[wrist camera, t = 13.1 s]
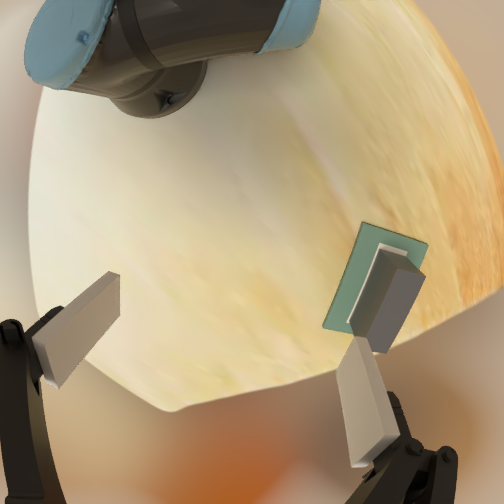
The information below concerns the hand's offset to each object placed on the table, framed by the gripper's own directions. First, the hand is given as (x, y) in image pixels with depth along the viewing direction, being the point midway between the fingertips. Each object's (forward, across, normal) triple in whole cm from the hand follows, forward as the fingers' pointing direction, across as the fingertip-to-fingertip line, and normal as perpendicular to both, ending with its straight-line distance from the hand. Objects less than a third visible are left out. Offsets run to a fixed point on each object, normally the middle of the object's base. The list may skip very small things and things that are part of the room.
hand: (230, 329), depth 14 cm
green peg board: (+27, +20, -6) cm, 34 cm away
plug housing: (+26, +20, -6) cm, 33 cm away
